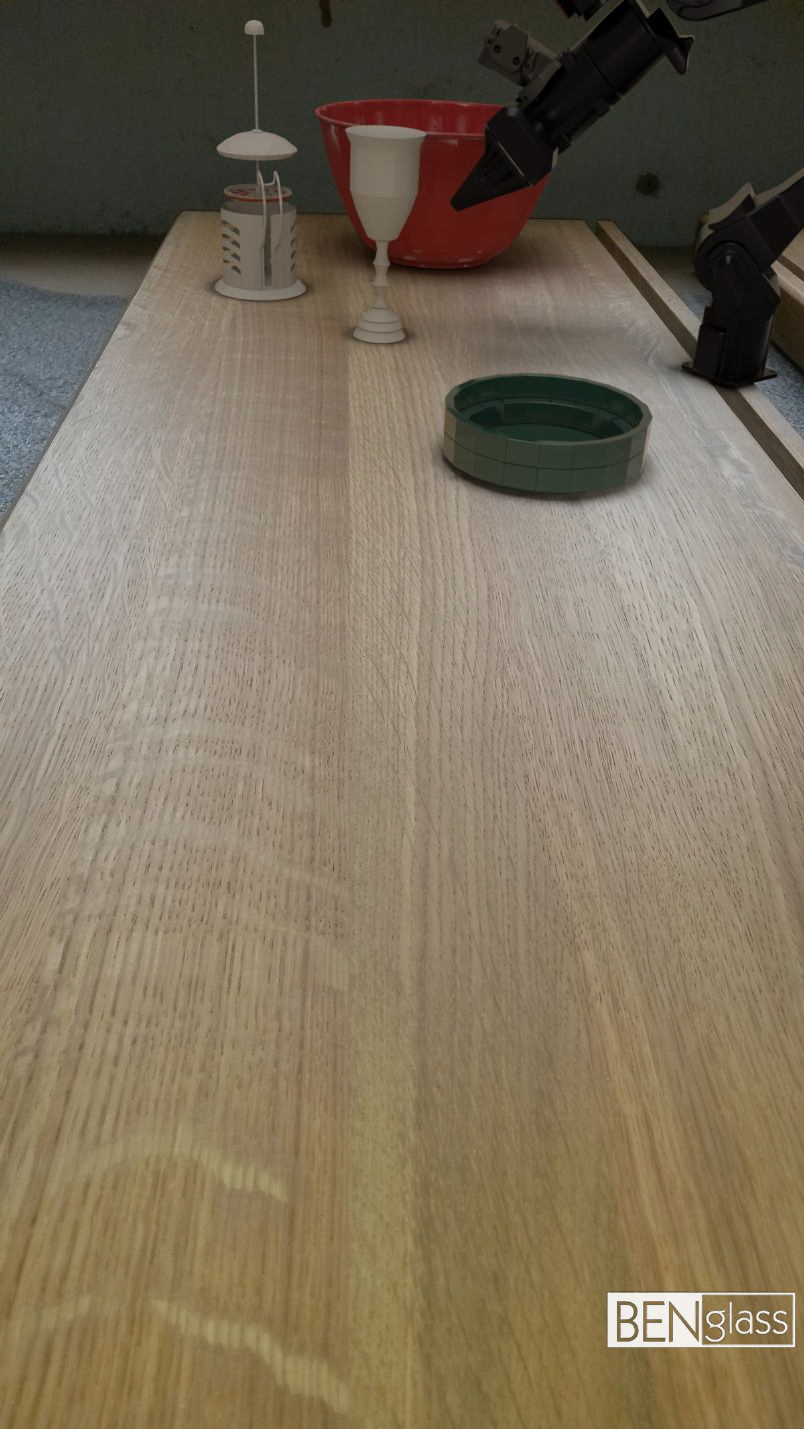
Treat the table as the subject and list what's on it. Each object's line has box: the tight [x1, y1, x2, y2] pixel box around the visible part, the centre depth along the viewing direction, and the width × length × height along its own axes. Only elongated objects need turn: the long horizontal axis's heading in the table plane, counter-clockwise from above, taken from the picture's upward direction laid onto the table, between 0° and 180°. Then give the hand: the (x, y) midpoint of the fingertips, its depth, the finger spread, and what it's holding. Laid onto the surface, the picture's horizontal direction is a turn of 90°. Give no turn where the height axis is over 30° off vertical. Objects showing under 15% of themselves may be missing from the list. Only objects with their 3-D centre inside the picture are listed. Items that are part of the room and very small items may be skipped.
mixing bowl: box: [314, 98, 552, 270], centre depth 141 cm, size 28×28×15 cm
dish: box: [441, 372, 654, 495], centre depth 92 cm, size 15×15×4 cm
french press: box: [214, 19, 307, 301], centre depth 123 cm, size 10×12×25 cm
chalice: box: [345, 125, 426, 344], centre depth 113 cm, size 7×7×18 cm
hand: (463, 196), depth 110 cm, fingers open, 9 cm apart
